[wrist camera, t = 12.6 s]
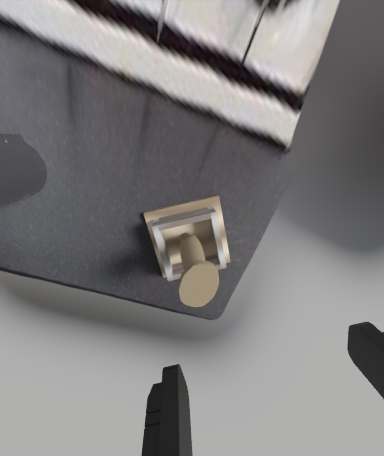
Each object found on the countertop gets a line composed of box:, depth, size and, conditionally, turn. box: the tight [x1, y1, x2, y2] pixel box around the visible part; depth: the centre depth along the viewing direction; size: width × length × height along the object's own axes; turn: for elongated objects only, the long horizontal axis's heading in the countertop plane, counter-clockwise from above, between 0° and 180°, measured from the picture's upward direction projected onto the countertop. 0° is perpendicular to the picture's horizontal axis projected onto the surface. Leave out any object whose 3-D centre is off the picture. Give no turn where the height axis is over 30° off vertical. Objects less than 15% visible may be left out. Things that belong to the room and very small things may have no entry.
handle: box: [179, 232, 219, 307], centre depth 35 cm, size 5×6×15 cm
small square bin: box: [143, 195, 230, 281], centre depth 40 cm, size 14×14×5 cm
